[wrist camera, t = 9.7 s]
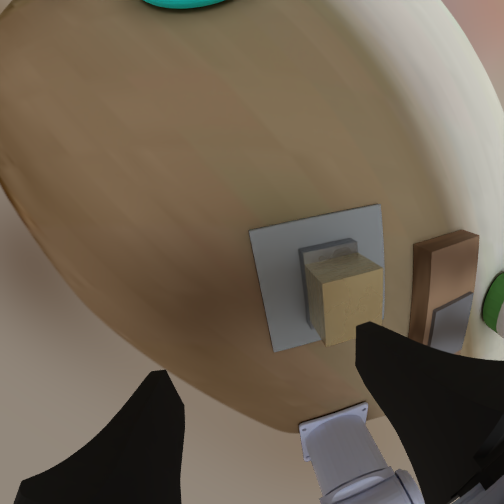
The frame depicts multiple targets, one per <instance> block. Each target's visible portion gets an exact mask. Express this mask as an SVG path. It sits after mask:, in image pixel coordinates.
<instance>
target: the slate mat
mask: <svg viewBox="0 0 504 504" xmlns="http://www.w3.org/2000/svg"><path fill="white" fill-rule="evenodd" d="M249 235H250V240H251V245H252V250H253V254H254V259H255V264H256V269H257V274H258V278H259V283H260V288H261V293H262V298H263V303H264V307H265V312H266V317H267V322H268V327H269V332H270V336H271V341H272V346H273V350H274V352H278V351H282V350H286V349H289V348H293V347H297V346H301V345H304V344H308V343H312V342H315V341H318V340H321V338H320V336H319V335H318V333H317V331H316V330H315V329H313V330H311V329H310V327H309V325H308V324H307V321H306V311H305V302H304V293H303V284H302V275H301V267H300V259H299V252H298V248H303V247H307V246H312V245H317V244H322V243H327V242H331V241H336V240H341V239H346V238H352V239H353V240H355V241H357V244H358V253H360V254H361V255H363V256H365V257H366V258H368V259H369V260H371V261H373V262H374V263H376V264H378V265H379V266H381V267H382V268H383V307H382V319H384V287H385V282H384V244H383V228H382V215H381V205H380V204H374V205H369V206H364V207H358V208H353V209H348V210H343V211H338V212H333V213H328V214H323V215H318V216H313V217H308V218H303V219H299V220H294V221H289V222H284V223H280V224H275V225H270V226H266V227H261V228H256V229H252V230H249Z"/></svg>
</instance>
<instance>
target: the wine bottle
mask: <svg viewBox="0 0 504 504" xmlns="http://www.w3.org/2000/svg"><path fill="white" fill-rule="evenodd" d="M483 319H484V321H485V323H486V325H487V326H488V327H489V328H491V329H492V330H494V331H495V332H496V333H498V334H499V335H500V336H502V337H503V338H504V273H502V274H500V275H499V276H498V277H497V278H496V279H495V281H494V282H493V284H492V285H491V287H490V289H489V291H488V294H487V296H486V299H485V302H484V307H483Z"/></svg>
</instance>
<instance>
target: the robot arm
mask: <svg viewBox="0 0 504 504" xmlns="http://www.w3.org/2000/svg"><path fill="white" fill-rule="evenodd" d="M355 366H356V368H357V370H358V372H359V374H360V376H361V378H362V380H363V382H364V384H365V386H366V387H367V389H368V390H369V392H370V393H371V395H372V396H373V398H374V399H375V401H376V402H377V403H378V405H379V406H380V408H381V409H382V411H383V412H384V414H385V415H386V416H387V418H388V419H389V421H390V422H391V424H392V425H393V427H394V429H395V430H396V432H397V434H398V436H399V438H400V440H401V442H402V444H403V446H404V448H405V450H406V453H407V455H408V457H409V459H410V462H411V464H412V466H413V469H414V471H415V474H416V477H417V480H418V482H419V485H420V488H421V491H422V494H421V492H420V490H419V488H418V486H417V484H416V483H415V481H414V479H413V478H412V476H411V475H410V474H409V473H408V471H406V470H401V469H398V470H396V471H395V473H394V471H393V470H392V468H391V466H389V467H388V466H387V463H386V462H385V460H384V458H383V456H382V454H381V452H380V451H379V449H378V447H377V445H376V443H375V442H374V440H373V438H372V436H371V434H370V432H369V431H368V429H367V427H366V425H365V423H366V417H367V410H368V404H367V402H363V403H361V404H358V405H356V406H353V407H350V408H347V409H345V410H342V411H339V412H336V413H333V414H330V415H327V416H324V417H321V418H317V419H314V420H311V421H307V422H303V423H301V424H300V425H299V431H300V437H301V444H302V450H303V457H304V461H306V462H308V461H311V462H312V465H313V468H314V471H315V474H316V477H317V480H318V483H319V486H320V489H321V492H322V495H323V497H321V498H320V502H321V504H450V503H451V502H453V501H454V500H456V499H457V498H458V497H460V498H459V499H458V500H456V501H455V502H454V503H452V504H504V361H497V360H485V359H477V358H470V357H465V356H461V355H456V354H452V353H448V352H445V351H441V350H438V349H435V348H433V347H430V346H427V345H424V344H422V343H419V342H417V341H414V340H412V339H409V338H407V337H405V336H402V335H400V334H398V333H396V332H394V331H391V330H389V329H387V328H385V327H383V326H380V325H378V324H376V323H374V322H371V321H369V322H366V323H363V324H360V325H357V326H356V362H355ZM184 413H185V412H184V404H183V402H182V400H181V398H180V397H179V395H178V393H177V391H176V389H175V387H174V385H173V383H172V381H171V379H170V377H169V375H168V373H167V371H166V370H159V371H152V372H150V373H149V375H148V376H147V377H146V378H145V379H144V381H143V382H142V383H141V385H140V386H139V387H138V389H137V390H136V391H135V392H134V393H133V395H132V396H131V397H130V398H129V400H128V401H127V402H126V403H125V405H124V406H123V407H122V408H121V410H120V411H119V412H118V413H117V414H116V415H115V416H114V417H113V419H112V420H111V421H110V422H109V423H108V424H107V426H105V427H104V428H103V429H102V431H100V432H99V433H98V434H97V435H96V436H95V437H94V438H93V439H92V440H91V441H90V442H88V443H87V444H86V445H85V446H84V447H82V448H81V449H80V450H78V451H77V452H75V453H74V454H73V455H71V456H70V457H69V458H67V459H66V460H64V461H63V462H61V463H59V464H58V465H56V466H54V467H52V468H50V469H49V470H47V471H45V472H42V473H40V474H38V475H35V476H33V477H30V478H28V479H25V480H23V481H22V482H21V484H20V487H19V490H18V492H17V495H16V498H15V501H14V504H181V489H180V473H181V462H182V452H183V442H184V432H185V414H184ZM422 495H423V496H422ZM423 498H424V499H423Z"/></svg>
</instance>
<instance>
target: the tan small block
mask: <svg viewBox="0 0 504 504" xmlns="http://www.w3.org/2000/svg"><path fill="white" fill-rule="evenodd" d="M298 252H299V259H300V267H301V275H302V284H303V293H304V302H305V311H306V321H307V324H308V325H309V327H310V329H311V330H313V329H315V330H316V331H317V333H318V335H319V336H320V338H321V340H322V341H323V343H324V345H325V346H326V347H328V346H332V345H335V344H339V343H342V342H345V341H348V340H351V339H355V338H356V326H357V325H360V324H363V323H366V322H369V321H371V322H374V323H376V324H378V325H380V326H381V325H382V307H383V268H382V267H381V266H379V265H378V264H376V263H374V262H373V261H371V260H369V259H368V258H366V257H365V256H363V255H361V254H360V253H358V244H357V241H355V240H353V239H352V238H346V239H341V240H336V241H331V242H327V243H322V244H317V245H312V246H307V247H303V248H298Z"/></svg>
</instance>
